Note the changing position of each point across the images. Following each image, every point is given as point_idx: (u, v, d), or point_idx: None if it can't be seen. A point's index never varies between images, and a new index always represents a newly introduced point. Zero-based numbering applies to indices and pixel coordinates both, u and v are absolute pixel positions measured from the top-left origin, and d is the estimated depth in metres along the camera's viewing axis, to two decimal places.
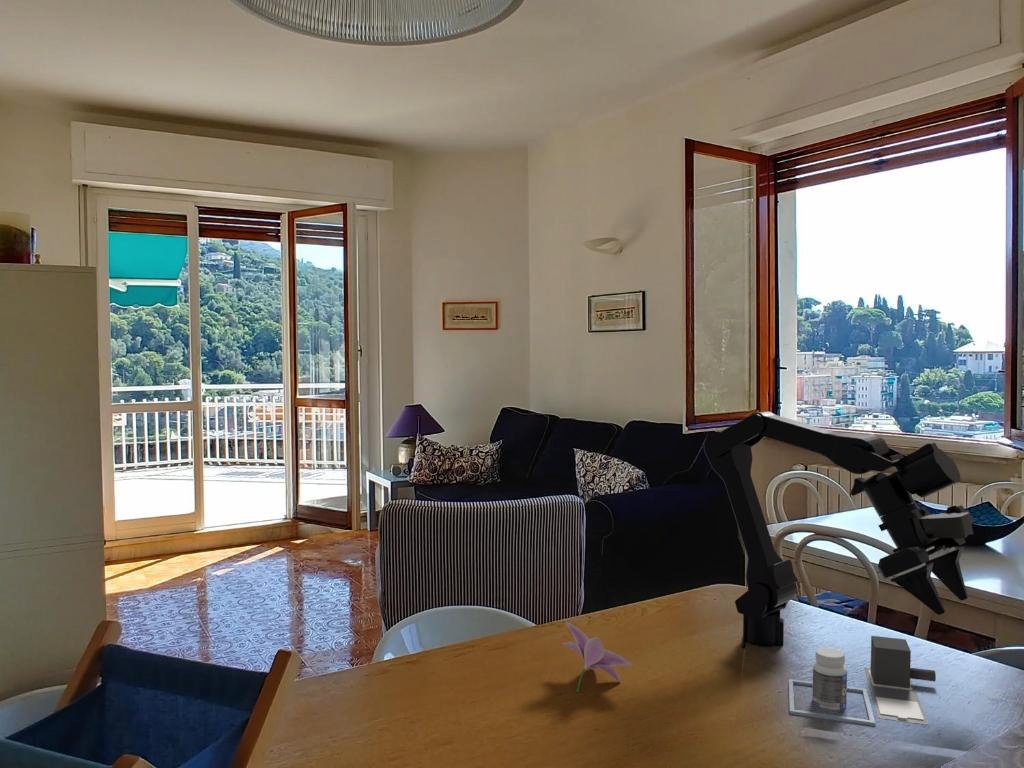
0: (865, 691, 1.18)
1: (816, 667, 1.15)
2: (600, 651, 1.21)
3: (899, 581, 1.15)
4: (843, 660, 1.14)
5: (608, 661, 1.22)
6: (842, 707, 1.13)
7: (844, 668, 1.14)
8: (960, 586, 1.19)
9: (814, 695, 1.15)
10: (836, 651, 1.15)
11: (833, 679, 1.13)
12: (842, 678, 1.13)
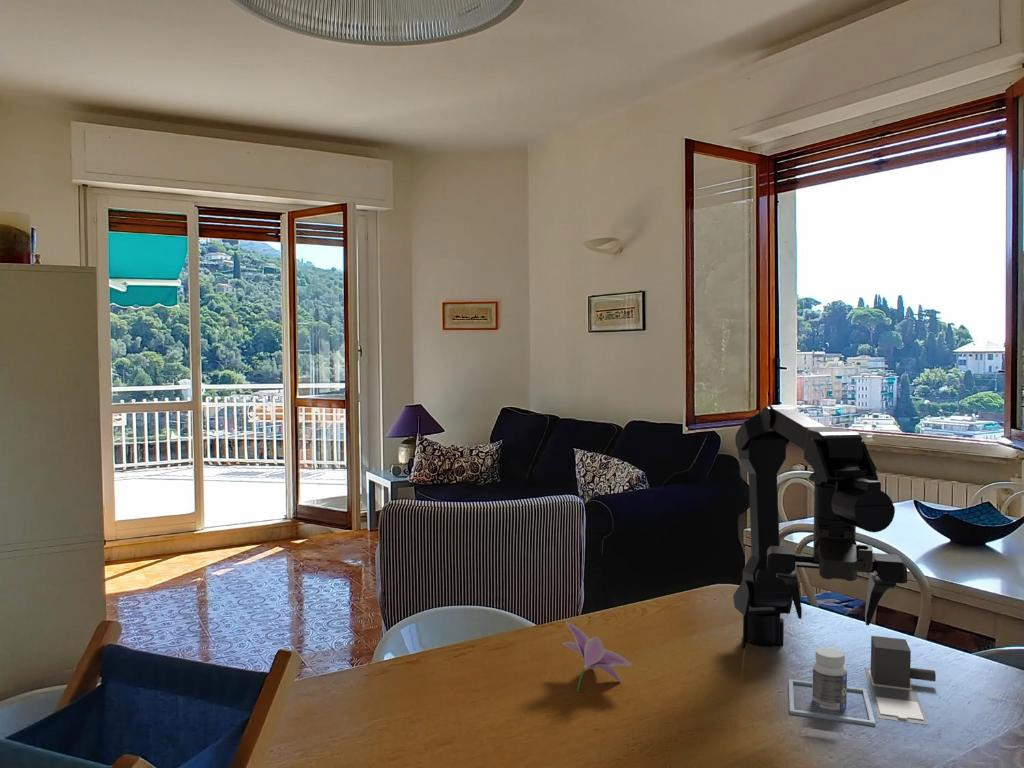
0: (865, 691, 1.18)
1: (816, 667, 1.15)
2: (600, 651, 1.21)
3: None
4: (843, 660, 1.14)
5: (608, 661, 1.23)
6: (842, 707, 1.13)
7: (844, 668, 1.14)
8: (866, 612, 1.13)
9: (814, 695, 1.15)
10: (836, 651, 1.15)
11: (833, 679, 1.13)
12: (842, 678, 1.13)
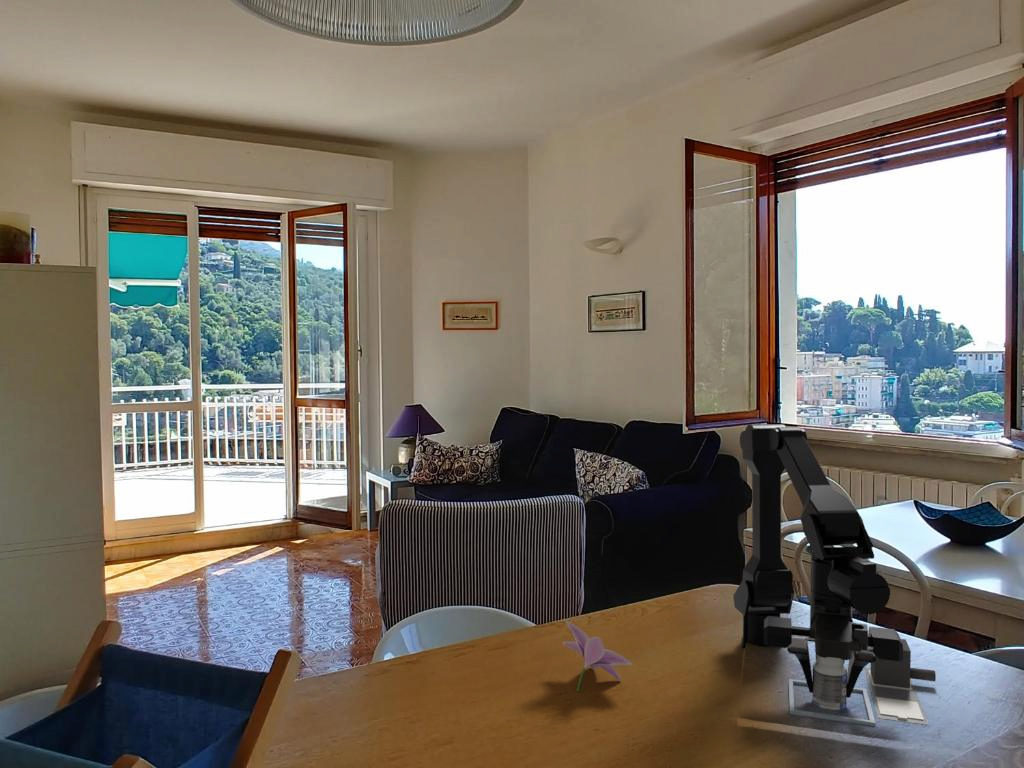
0: (865, 691, 1.18)
1: (816, 667, 1.15)
2: (600, 650, 1.22)
3: None
4: (843, 660, 1.14)
5: (608, 660, 1.23)
6: (842, 707, 1.13)
7: (844, 668, 1.14)
8: (847, 685, 1.14)
9: (814, 695, 1.15)
10: None
11: (833, 679, 1.13)
12: (842, 677, 1.13)
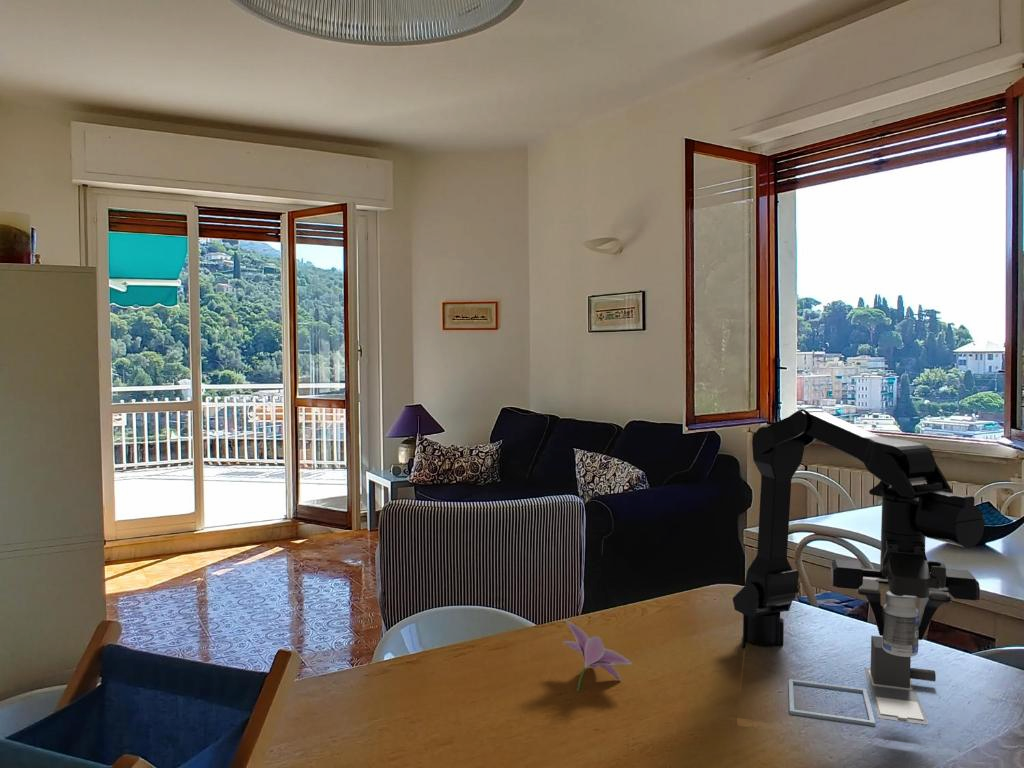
0: (865, 691, 1.18)
1: (887, 609, 1.12)
2: (600, 650, 1.22)
3: None
4: (915, 602, 1.11)
5: (608, 660, 1.23)
6: (914, 649, 1.11)
7: (916, 610, 1.11)
8: (919, 627, 1.11)
9: (885, 638, 1.12)
10: None
11: (905, 620, 1.10)
12: (914, 619, 1.10)
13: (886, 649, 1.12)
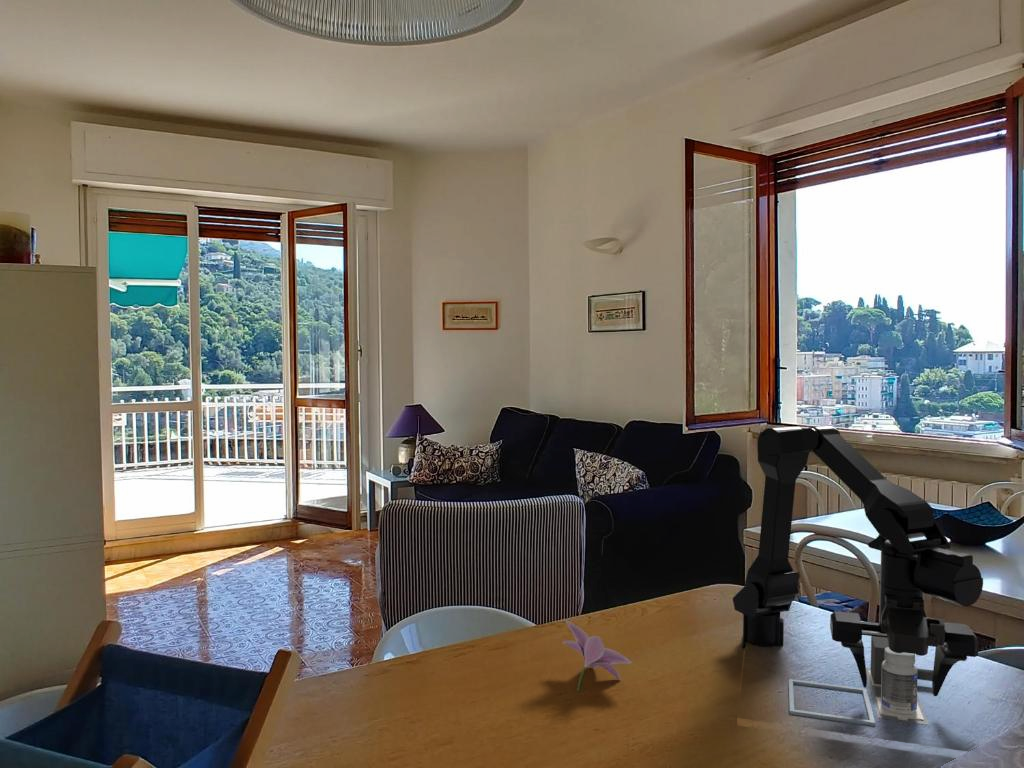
0: (865, 691, 1.18)
1: (885, 666, 1.13)
2: (600, 649, 1.22)
3: None
4: (914, 659, 1.12)
5: (608, 659, 1.23)
6: (913, 707, 1.11)
7: (915, 667, 1.12)
8: (934, 683, 1.11)
9: (883, 695, 1.13)
10: None
11: (904, 678, 1.11)
12: (913, 677, 1.11)
13: (885, 706, 1.13)
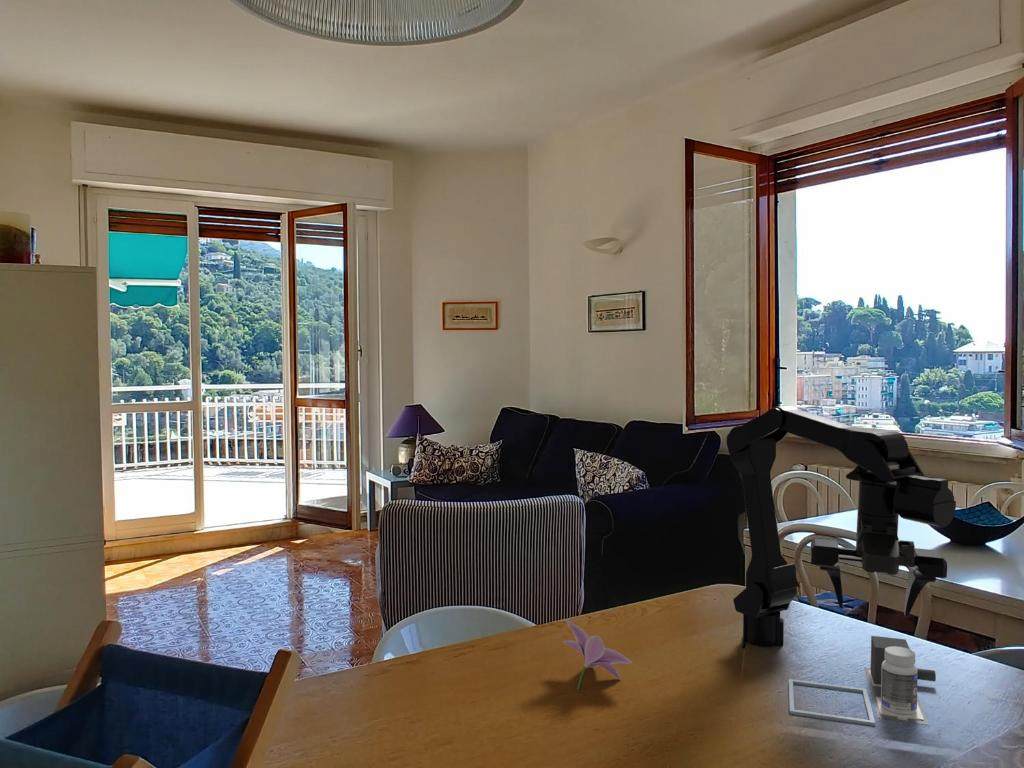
0: (865, 691, 1.18)
1: (885, 666, 1.13)
2: (600, 649, 1.22)
3: None
4: (914, 659, 1.12)
5: (608, 659, 1.23)
6: (913, 707, 1.11)
7: (915, 667, 1.12)
8: (906, 604, 1.18)
9: (883, 695, 1.13)
10: (905, 650, 1.13)
11: (904, 678, 1.11)
12: (913, 677, 1.11)
13: (885, 706, 1.13)
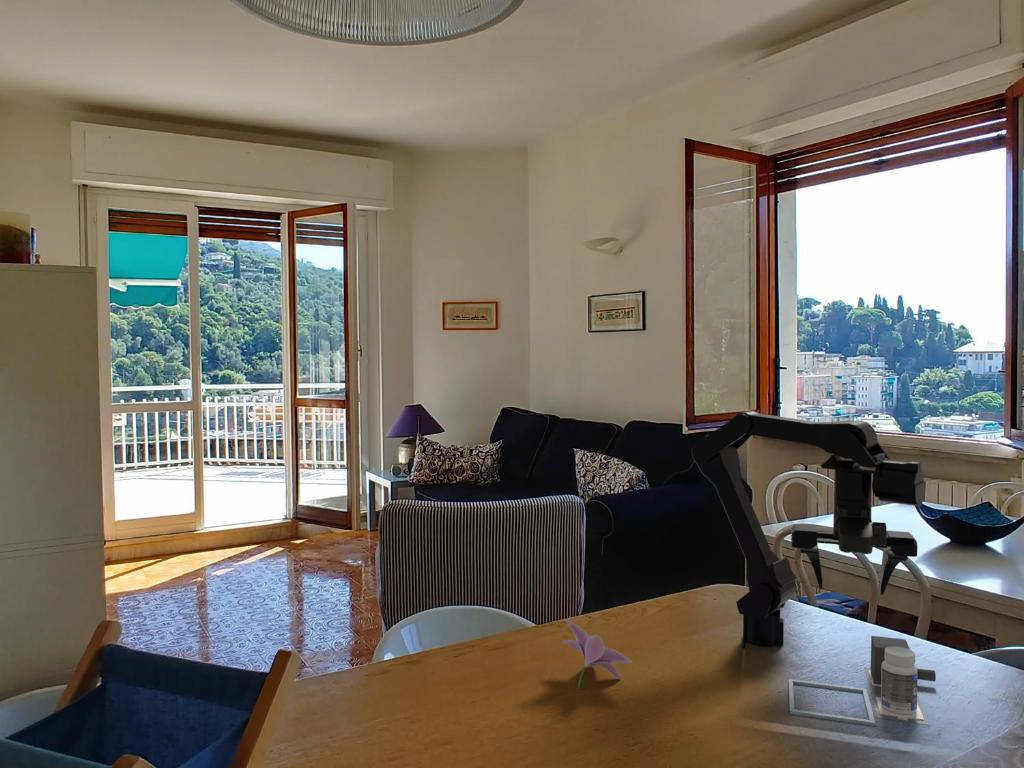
0: (865, 691, 1.18)
1: (885, 666, 1.13)
2: (600, 648, 1.22)
3: None
4: (914, 659, 1.12)
5: (608, 658, 1.24)
6: (913, 707, 1.11)
7: (915, 667, 1.12)
8: (881, 583, 1.27)
9: (883, 695, 1.13)
10: (905, 650, 1.13)
11: (904, 678, 1.11)
12: (913, 677, 1.11)
13: (885, 706, 1.13)
